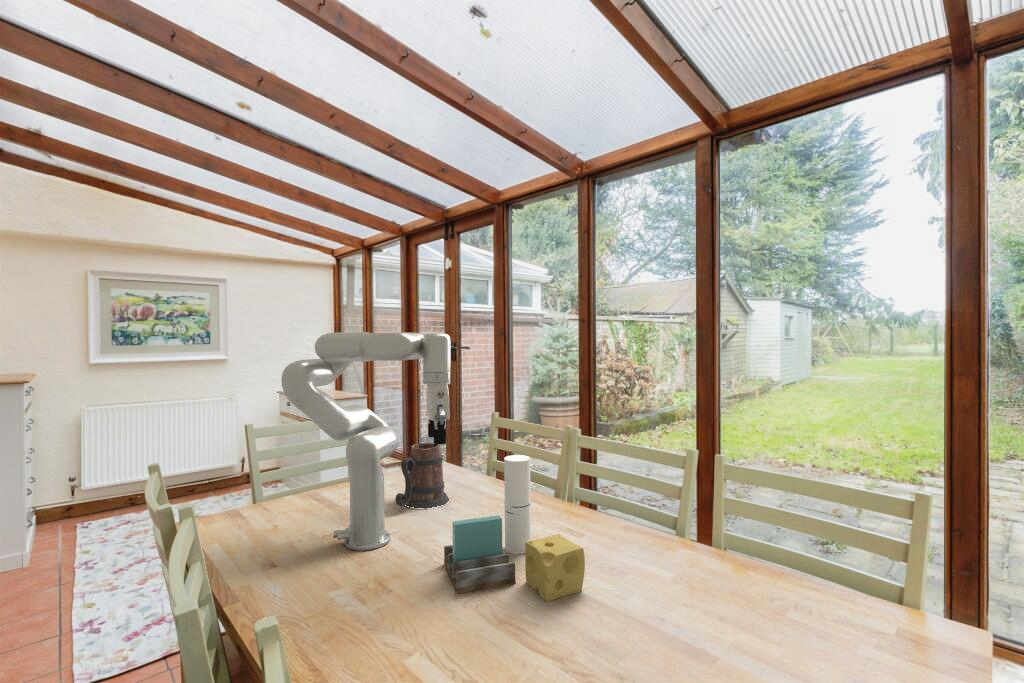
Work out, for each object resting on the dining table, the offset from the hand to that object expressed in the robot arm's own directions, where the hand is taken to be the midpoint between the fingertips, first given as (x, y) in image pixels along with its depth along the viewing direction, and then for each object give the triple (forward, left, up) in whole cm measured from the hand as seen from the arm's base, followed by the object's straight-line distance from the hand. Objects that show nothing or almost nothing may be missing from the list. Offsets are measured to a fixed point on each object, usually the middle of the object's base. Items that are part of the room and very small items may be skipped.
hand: (436, 440), depth 133 cm
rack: (+7, -17, -30) cm, 35 cm away
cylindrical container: (+21, -7, -30) cm, 38 cm away
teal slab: (+7, -17, -29) cm, 34 cm away
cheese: (+22, -29, -31) cm, 47 cm away
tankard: (+1, +39, -30) cm, 50 cm away
